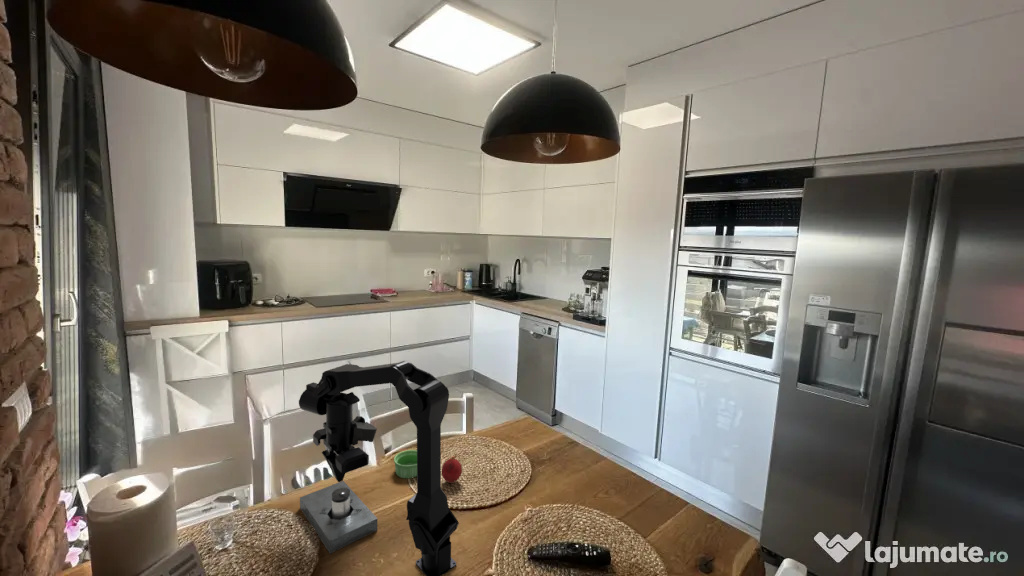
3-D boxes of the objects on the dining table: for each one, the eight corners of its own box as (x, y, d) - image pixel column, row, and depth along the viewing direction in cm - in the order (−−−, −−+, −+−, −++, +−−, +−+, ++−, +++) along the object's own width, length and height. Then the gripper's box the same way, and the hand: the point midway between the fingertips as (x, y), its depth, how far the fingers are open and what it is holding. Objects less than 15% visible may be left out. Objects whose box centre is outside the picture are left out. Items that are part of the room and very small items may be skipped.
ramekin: (416, 460, 128) (416, 446, 127) (430, 473, 121) (430, 459, 120) (389, 469, 122) (389, 455, 121) (401, 483, 115) (401, 469, 115)
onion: (457, 490, 113) (458, 463, 112) (438, 487, 114) (438, 460, 113) (464, 478, 119) (464, 452, 118) (445, 475, 120) (446, 450, 119)
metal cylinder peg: (352, 523, 98) (352, 493, 97) (335, 531, 95) (335, 500, 94) (345, 515, 101) (345, 485, 100) (329, 522, 98) (329, 492, 97)
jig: (377, 530, 96) (377, 518, 96) (330, 553, 89) (329, 541, 88) (343, 490, 110) (343, 480, 110) (300, 508, 103) (299, 497, 102)
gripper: (390, 423, 94) (389, 485, 96) (356, 398, 107) (356, 453, 109) (342, 438, 86) (342, 505, 88) (311, 409, 100) (312, 468, 101)
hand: (339, 480), depth 97 cm, fingers closed
